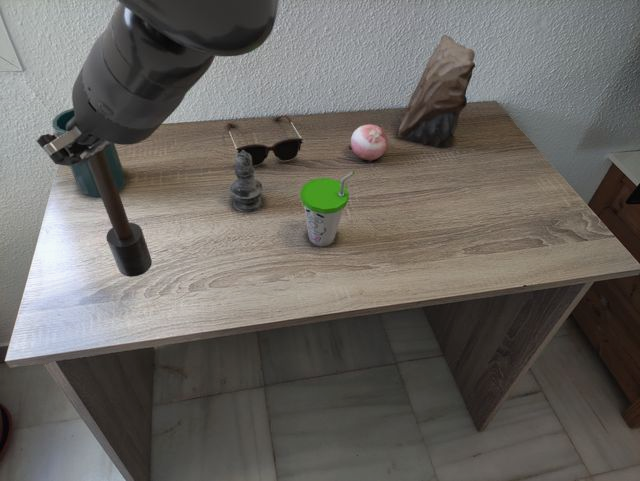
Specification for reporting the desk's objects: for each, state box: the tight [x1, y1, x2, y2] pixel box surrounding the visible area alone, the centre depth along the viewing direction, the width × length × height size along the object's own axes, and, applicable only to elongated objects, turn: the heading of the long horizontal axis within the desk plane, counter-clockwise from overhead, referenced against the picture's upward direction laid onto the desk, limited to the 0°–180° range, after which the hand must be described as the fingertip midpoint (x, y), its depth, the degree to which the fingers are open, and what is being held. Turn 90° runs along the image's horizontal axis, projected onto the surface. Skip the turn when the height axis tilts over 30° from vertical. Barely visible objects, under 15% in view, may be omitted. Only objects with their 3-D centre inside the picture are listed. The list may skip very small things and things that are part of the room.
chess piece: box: [229, 150, 264, 213], centre depth 84 cm, size 6×6×12 cm
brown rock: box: [397, 34, 476, 148], centre depth 100 cm, size 13×13×20 cm
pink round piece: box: [347, 124, 388, 163], centre depth 98 cm, size 8×8×7 cm
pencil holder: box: [51, 107, 126, 198], centre depth 85 cm, size 8×8×14 cm
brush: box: [87, 149, 153, 278], centre depth 57 cm, size 4×4×22 cm
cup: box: [299, 170, 355, 248], centre depth 77 cm, size 8×8×15 cm
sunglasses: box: [226, 114, 304, 167], centre depth 100 cm, size 14×16×5 cm
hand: (84, 151), depth 52 cm, fingers closed on brush, 2 cm apart
